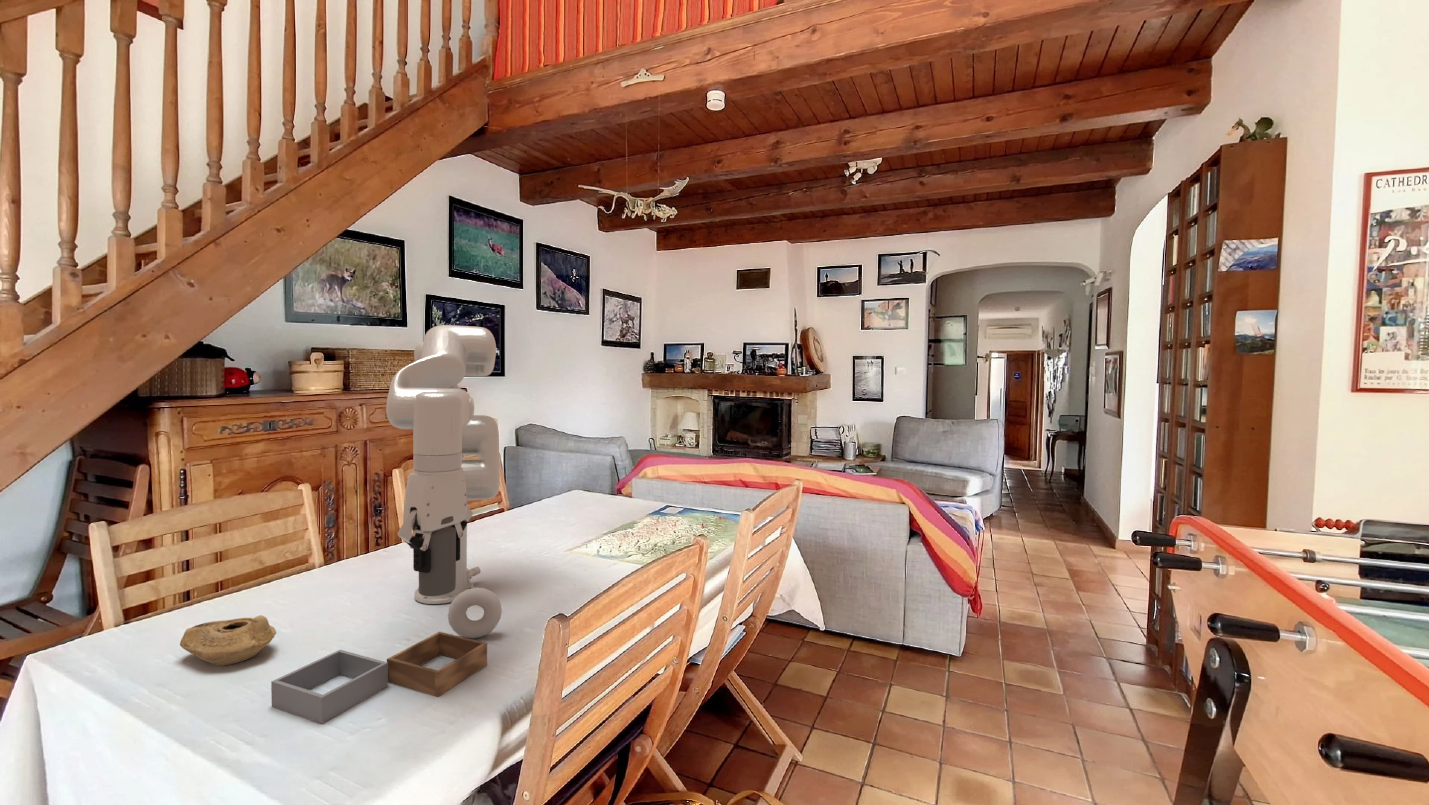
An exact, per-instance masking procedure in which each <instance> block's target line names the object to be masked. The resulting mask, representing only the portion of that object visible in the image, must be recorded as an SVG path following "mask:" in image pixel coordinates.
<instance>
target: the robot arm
mask: <svg viewBox="0 0 1429 805" xmlns="http://www.w3.org/2000/svg"><path fill="white" fill-rule="evenodd" d="M496 345H497V344H496V340H495V337H494V334H493V333H492V332H491V330H489V329H488V328H486V327H483V326H482V327H481V326H469V325H454V324H452V325H451V324H442V325H441V324H440V325H437V326H433V327H431V328H430V329H428V330H427V331H426V333H425V335H424V337H423V341H420V342H418V343H417V344H416V345H415V347H414V351H413V357H414V358H413V359H414V361H413V362H411V363H410V364H408V365H406V366H403V367H402V368H401V369H399V371H397V372H396V373H395V374H394V376H393V377H392V379H391V381H390V385H389V390H388V394H387V399H386V409H385V410H386V412H385V413H386V417H387V420H388V422H389V424H390V425H392V426H393V427H394V428H396V429H398V430H399V429H400V430H413V432H412V436H413V437H412V438H413V442H412V444H413V447H412V448H413V450H412V451H413V462H412V463H413V464H412V465H413V466H412V467H413V470H412V471H413V472H411V473H409V474H408V477H407V482H406V486H405V492H404V501H403V503H404V504H403V515H402V516H403V519H402V521H403V522H402V525H401V526H400V528H399V529H398V531H397V536H398V537H399V538H400V539H401V540H403V541H404V543H406V544H407V545H408V546H409V549H412V551H413V554H412V555H413V556H412V557H413V559H412V560H413V561H412V562H413V565H412V566H413V567H412V568H413V571H415V572H418V573H419V572H423V573H428V572H430V571H431V550H430V549H427V548H428V545H429V541H430V538H431V534H432V532H434V531H437V530H440V529H442V528H444V527H447V526H452V527H454V528H455V529H456V587H455V590H453V591H452V592H450V593H448V594H444V595H440V596H424V595H421V594H420V593H419V587H418V588H416V590H415V591H414V600H415V601H416V602H419V603H421V604H425V605H442V604H449V603H450V604H451V603H452V601H453V600H454V599H455V598H456V597H457V596H458V595H459V594H460V593H461V592H463V591H465V590H467V589H471V588H475V586H474V583H471V582H470V580H471V579H473V577H476V576H478V575H480V574H481V573H482V572H481V568H480V567H479V566H475V567H473V568H471V569H468V567H467V566H468V564H467V563H468V562H467V561H468V559H467V558H468V552H467V550H468V522H469V521H470V520H471V518H472V516H473V514H474V513H473V511H472V509H471V508H470V506H468V501H480V500H481V501H482V500H489V499H493V498H494V497H496V496H497V495H498V493H499V490H500V485H501V484H500V482H501V481H500V480H501V478H500V475H501V474H500V472H501V470H500V435H499V427H498V423H497V421H496V419H495V418H493V417H492V416H489V415H484V414H482V415H481V414H479V415H478V414H476V415H475V403H474V398H472V397H471V395H470V393H468V391H466V390H464V389H462V388H461V387H460V386H459V384H460V383H461V382H462V381H463V380H464V378H465V377H488V376H490V375H491V374H492V372H493V371H494V368H495V363H496V356H497V346H496ZM465 455H468V456H469V455H470V456H471V455H472V456H473V455H474V456H477V457H478V459H463V458H464V456H465ZM451 516H453V519H454V520H453V521H452V522H450V523H447V524H442V525H441V521H442V519H444V518H447V517H451ZM421 534H423V537H422V541H421V540H420V536H421Z"/></svg>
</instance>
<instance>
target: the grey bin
mask: <svg viewBox="0 0 1429 805" xmlns="http://www.w3.org/2000/svg"><path fill="white" fill-rule="evenodd" d="M339 675H341V676H343V677H348V678H350V680H348V681H347V682H344V683H343V684H341V685H338V686H337V687H335V688H333V689H332V690H330V691H327V692H326V693H324V694H322V693H319V692H316V691H312V689H313V688H315V687H317V686H319V685H321V684H323V683H325V682H327V681H329V680H330V679H333V678H334V677H337V676H339ZM351 678H352V679H351ZM270 684H271V686H270V687H271V707H272V708H275V709H278V710H281V711H284V712H287V713H290V714H292V715H296V716H298V717H301V718H305V719H307V720H310V721H313V722H315V723H319V724H321V725H322V724H324V723H326V722H328V721H329V720H331V719H333V718H335V717H336V716H338V715H340V714H342V713H343V712H346V711H347V710H348V709H350V708H351V707H354V706H355V705H357V704H359V703H360V702H362V701H364V700H366V699H368V698H370V697H371V696H373V695H374V694H376V693H379V692H380V691H382V690H383V689H385V688H387V687H388V686H389V682H388V663H387V661H383V660H381V659H380V660H379V659H377V658H372V657H368V656H365V655H361V654H357V653H354V652H350V651H347V650H343V649H338V650H336V651H334V652H331V653H330V654H327V655H325V656H324V657H321V658H318V659H317V660H315V661H312V662H310V663H308V664H306V665H304V666H302V667H299V668H298V669H295V670H293V671H291V672H289V673H287V674H285V675H282V676H280V677H278V678H276V679H273V680H272V681H271V683H270ZM341 712H342V713H341ZM334 716H335V717H334Z"/></svg>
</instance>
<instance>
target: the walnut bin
mask: <svg viewBox="0 0 1429 805" xmlns="http://www.w3.org/2000/svg"><path fill="white" fill-rule="evenodd" d="M439 655H440V656H444V657H448V658H452V659H454V660H453V661H451V662H450V663H448V664H446V665H445V666H443V667H441V668H440V669H434V668H430V667H427V666H424V664H425V663H427V662H429V661H430V660H432V659H433V658H435V657H437V656H439ZM386 662H387V663H388V684H393V685H397V686H399V687H403V688H406V689H410V690H413V691H417V692H420V693H424V694H427V695H431V696H433V697H439V696H441V695H442V693H443V694H444V693H446V692H447V691H448V690H451V689H452V688H454V687H455V686H457V685H458V684H459V683H462V681H465V679H467V678H469V677H470V676H471V675H473V674H475V673H476V672H478V671H480V670H481V669H483V668H484V667H486V666H487V665H488V642H484V641H481V640H475V639H473V638H465V637H463V636H460V635H455V634H451V633H447V632H443V631H437V632H436V633H434V634H432V635H430V636H429V637H426V638H424V639H422V640H420V641H419V642H417V643H415V644H413V645H411V646H410V647H407V648H405V649H403V650H401V651H399V652H398V653H395V654H394V655H392V656H390V657H388V658H387V659H386ZM456 684H457V685H456Z"/></svg>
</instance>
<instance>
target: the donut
mask: <svg viewBox="0 0 1429 805" xmlns="http://www.w3.org/2000/svg"><path fill="white" fill-rule="evenodd" d="M472 606H478V607H480V608H482V610H483V615H482V617H481V618H479V619H475V620H474V619H470V618H469V617H468V616H467V615H468V614H467V611H468V609H469V608H470V607H472ZM502 613H503V609H502V603H501V601H500V599H499V598H498V595H497V594H495V593H494V592H493V591H492V590H489V589H488V588H485V587H474V588H471V589H467V590H465V591H463V592H461V593H460V594H459V595H458V596H457V597H456V598H455V599H454V600H453V601H452V602H450V605H449V607H448V612H447V618H448V623H449V624H448V625H449V626H450V628H451V630H452V631H453V632H454V633H455V634H457V636H460V637H464V638H468V639H478V638H481V637H484V636H486V635H488V634H489V633H491V632H492V631H494V629H495V628H497V625H499V622H500V620H501V616H502Z"/></svg>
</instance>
